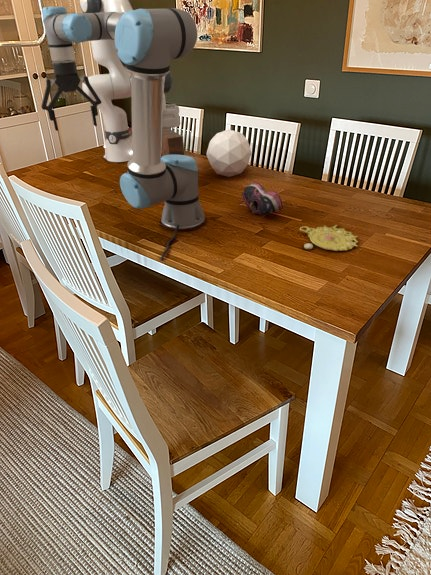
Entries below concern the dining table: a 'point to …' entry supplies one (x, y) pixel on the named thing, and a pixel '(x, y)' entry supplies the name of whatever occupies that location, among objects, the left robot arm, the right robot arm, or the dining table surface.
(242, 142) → the sphere
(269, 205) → the athletic shoe
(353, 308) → the dining table surface
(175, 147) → the box
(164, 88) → the left robot arm
